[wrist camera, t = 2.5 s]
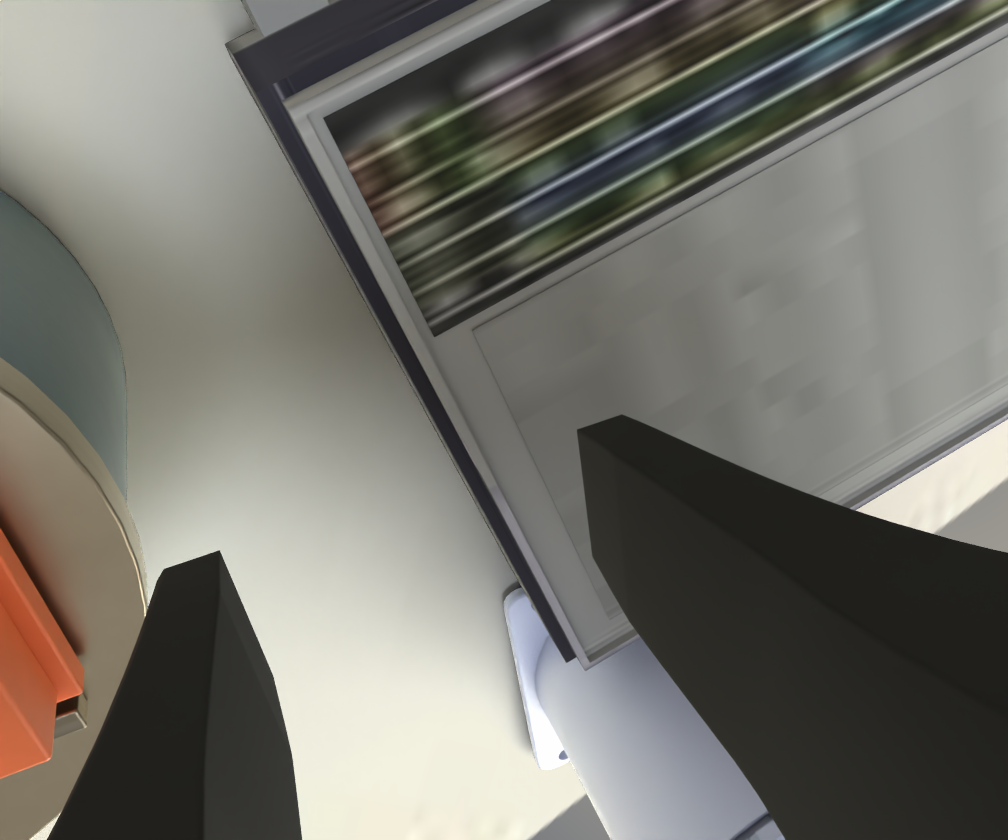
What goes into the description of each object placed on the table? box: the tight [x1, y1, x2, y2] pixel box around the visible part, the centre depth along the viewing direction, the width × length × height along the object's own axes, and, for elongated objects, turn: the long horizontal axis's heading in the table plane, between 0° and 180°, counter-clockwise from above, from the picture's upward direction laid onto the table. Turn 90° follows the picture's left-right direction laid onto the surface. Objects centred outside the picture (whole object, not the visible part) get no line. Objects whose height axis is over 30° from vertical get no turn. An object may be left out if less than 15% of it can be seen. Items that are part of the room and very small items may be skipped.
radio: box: [225, 0, 1008, 671], centre depth 19 cm, size 24×5×20 cm
